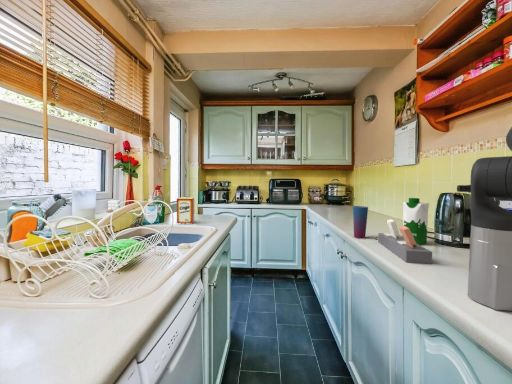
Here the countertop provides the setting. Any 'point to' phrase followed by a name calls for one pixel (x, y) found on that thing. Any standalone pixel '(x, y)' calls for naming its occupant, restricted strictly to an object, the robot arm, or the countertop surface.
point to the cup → (360, 221)
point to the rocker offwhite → (393, 228)
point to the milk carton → (416, 219)
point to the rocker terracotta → (408, 236)
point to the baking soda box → (185, 210)
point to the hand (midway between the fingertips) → (458, 188)
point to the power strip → (405, 249)
